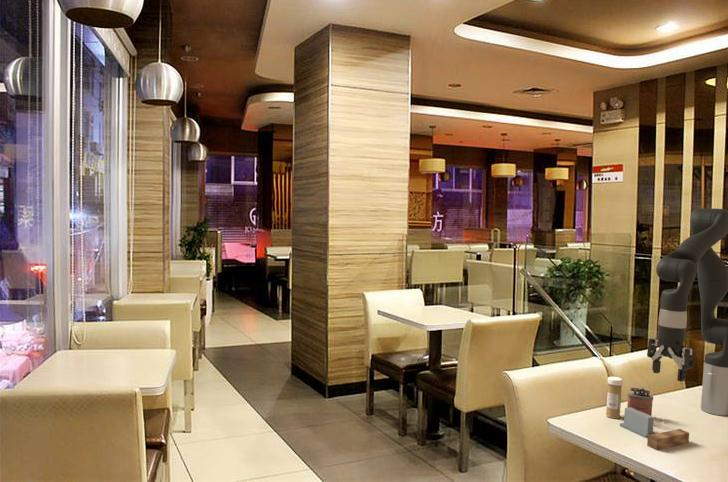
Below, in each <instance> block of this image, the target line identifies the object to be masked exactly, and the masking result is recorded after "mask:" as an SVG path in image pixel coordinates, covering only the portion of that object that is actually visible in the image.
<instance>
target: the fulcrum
mask: <svg viewBox="0 0 728 482" xmlns="http://www.w3.org/2000/svg"><path fill="white" fill-rule="evenodd" d="M623 417H624V418H623V422H621V423H619V427H621V428H624V429H626V430H627V431H629V432H632V433H634V434H636V435H639V436H641V437H643V438H645V439H646V438H647V439H648V435H652V434H657V433H658V432H655V431H653V430H654V419H655V417H654V416H653V415H652V416H650V415H648V414H645V413H643V412H640V411H638V410H636V409H633V408H631V407H629V408H627V407H625V408H624V416H623Z"/></svg>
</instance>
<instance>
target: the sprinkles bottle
mask: <svg viewBox="0 0 728 482" xmlns="http://www.w3.org/2000/svg"><path fill="white" fill-rule="evenodd" d="M622 386H623V378H621V377H618V376H608V377H607V394H606V395H607V396H606V412H605V416H606V417H608V418H610V419H611V418H612V419H615V420H616V419H620V417H621V405H622Z"/></svg>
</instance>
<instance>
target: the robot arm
mask: <svg viewBox="0 0 728 482" xmlns="http://www.w3.org/2000/svg"><path fill="white" fill-rule="evenodd" d="M690 230H691V236H689V237H687V238H686V239H684V240H682V242H681V243H680V244H679V246H678V247H677V248H676V249H675V250H673V251H672V252H670V253H668V254H666V255H665V256H663V257H661V259H660V260H659V261H658V263H657V265H656V269H655V270H656V271H655V273H656V275H657V276H658V278H659V279H660V280H662V281H666V282H673V283H679V285H678V287H677V288H668V289H664V290H663V291H662V292H661V297H660V309H659V315H658V321H657V322H658V324H657V325H658V326H657V338H656V337H654V338H653V337H652V338H648V344H647V345H648V346H647V353H646V355H647V358H650V359H651V360H652V365H651V368H652V373H653V374H659V373H660V372H661V363H662V361H661V359H662V358H663V357H667V358H669V359H671V360H673V361H674V363H675V364H676V365H677V368H678V369H677V381H678V382H685V380H686V379H687V371H688V370H690V369H694V368H695V363H694V361H695V349H694V348H693V347H691V348H690V347H689V348H687V347H685V342H686V338H687V337H686V336H687V324H688V322H687V321H688V314H687V313H688V299H689V295H690V291H691V289H692V285H693V283H694V281H695V279H696V277H697V282H698V283H697V284H698V289H699V290H698V291H699V297H700V298H699V299H700V320H701V321H700V322H701V323H700V324H701V325H700V328H701V329H700V330H701V331H700V332H701V338H702V339H703V341H704V342H705V343H709V344H712V345H718V346H723V348H722V350H720V351H714V352H708V353H706V354H705V355H704V360H703V361H704V363H703V372H702V373H703V374H702V388H701V397H700V398H701V400H700V409H701V410H702V411H703V412H706V413H708V414H711V415H716V416H722V417H723V416H728V319H725V318H717V317H716V316H715V312H716V311H715V310H716V308H717V306H718V305H719V303H720V302H721V301H722V300H723V299H724V298H725V296H726V295H727V294H728V266H727V264H726V263H725V262H724V261H723V260H722V258H721V257H720V256H719V255H718V254H717V253H716V252H715V250H714V249H713V248H712V247H713V246H715V245H716V244H717V243H719V242H720V240H722V239H723V238H725V236H727V235H728V209H724V208H706V207H705V208H704V207H703V208H702V207H701V208H695V209H694V210H692V212H691V215H690Z"/></svg>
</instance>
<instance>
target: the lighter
mask: <svg viewBox="0 0 728 482" xmlns="http://www.w3.org/2000/svg"><path fill="white" fill-rule="evenodd" d="M629 391H630V392H628V393H627V406H626V408H629V407H631V408H633V409H636V410H638V411H640V412H643V413H645V414H648V415H650V416H652V417H653V414H652V413H653V411H652V410H653V401H654V396H653V395H650V394H651V390H650V389H647V388H646V389H645V387H641V386H640V388H638V387H635V386H630V390H629Z"/></svg>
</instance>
